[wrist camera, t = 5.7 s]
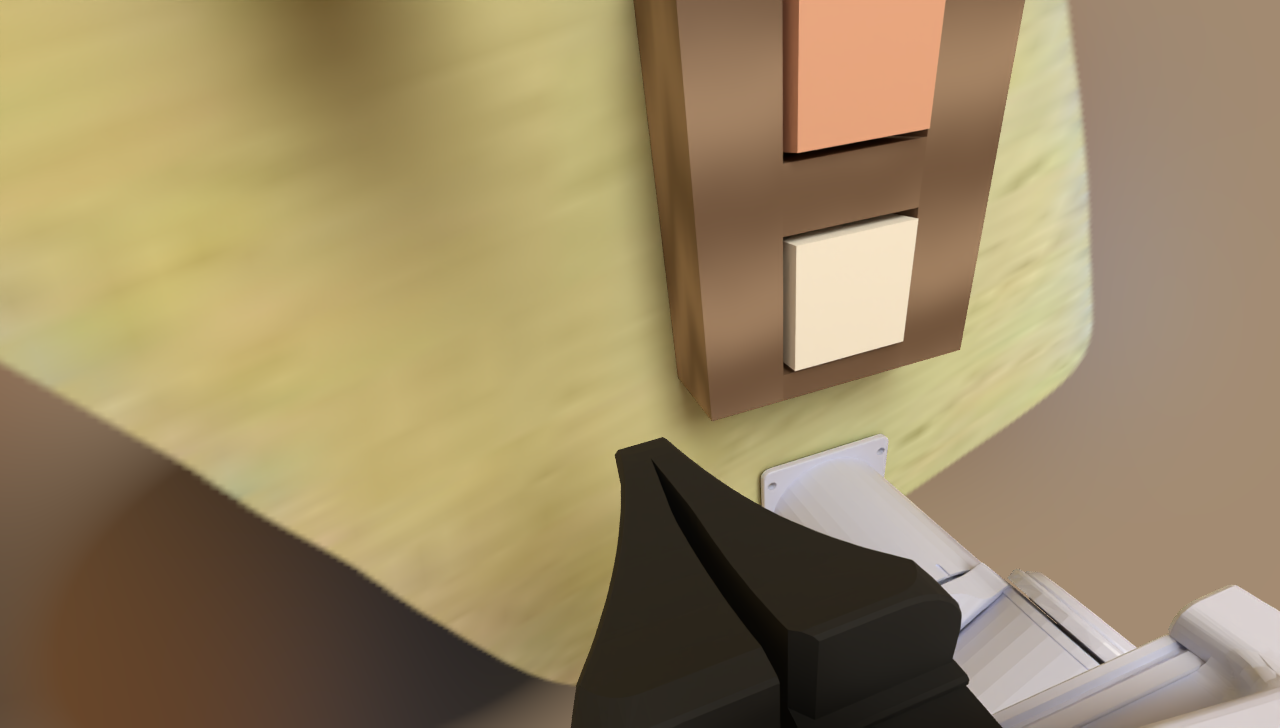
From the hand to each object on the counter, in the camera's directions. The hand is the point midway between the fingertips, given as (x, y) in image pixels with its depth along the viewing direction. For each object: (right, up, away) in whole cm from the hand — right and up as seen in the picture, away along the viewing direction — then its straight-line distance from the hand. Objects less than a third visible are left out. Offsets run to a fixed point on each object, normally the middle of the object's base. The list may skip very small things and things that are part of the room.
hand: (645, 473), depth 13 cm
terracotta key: (+6, +13, +4) cm, 15 cm away
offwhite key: (+7, +6, +8) cm, 13 cm away
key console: (+6, +11, +8) cm, 15 cm away
